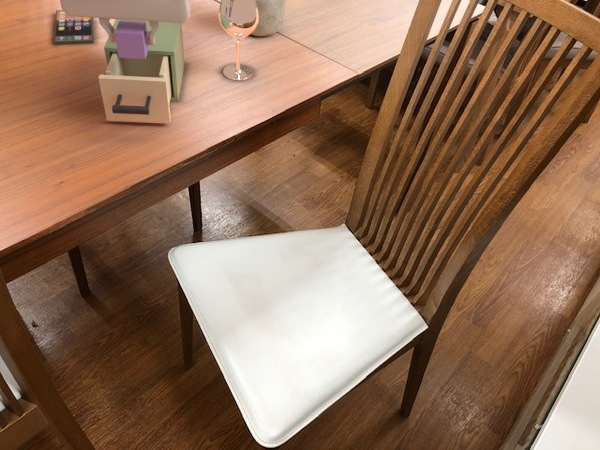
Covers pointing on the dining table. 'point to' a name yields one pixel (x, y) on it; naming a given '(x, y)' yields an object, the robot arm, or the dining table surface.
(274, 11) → the planter
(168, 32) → the green drawer cabinet
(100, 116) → the dining table surface
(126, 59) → the cream drawer
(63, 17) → the smartphone
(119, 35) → the purple cube
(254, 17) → the wineglass
